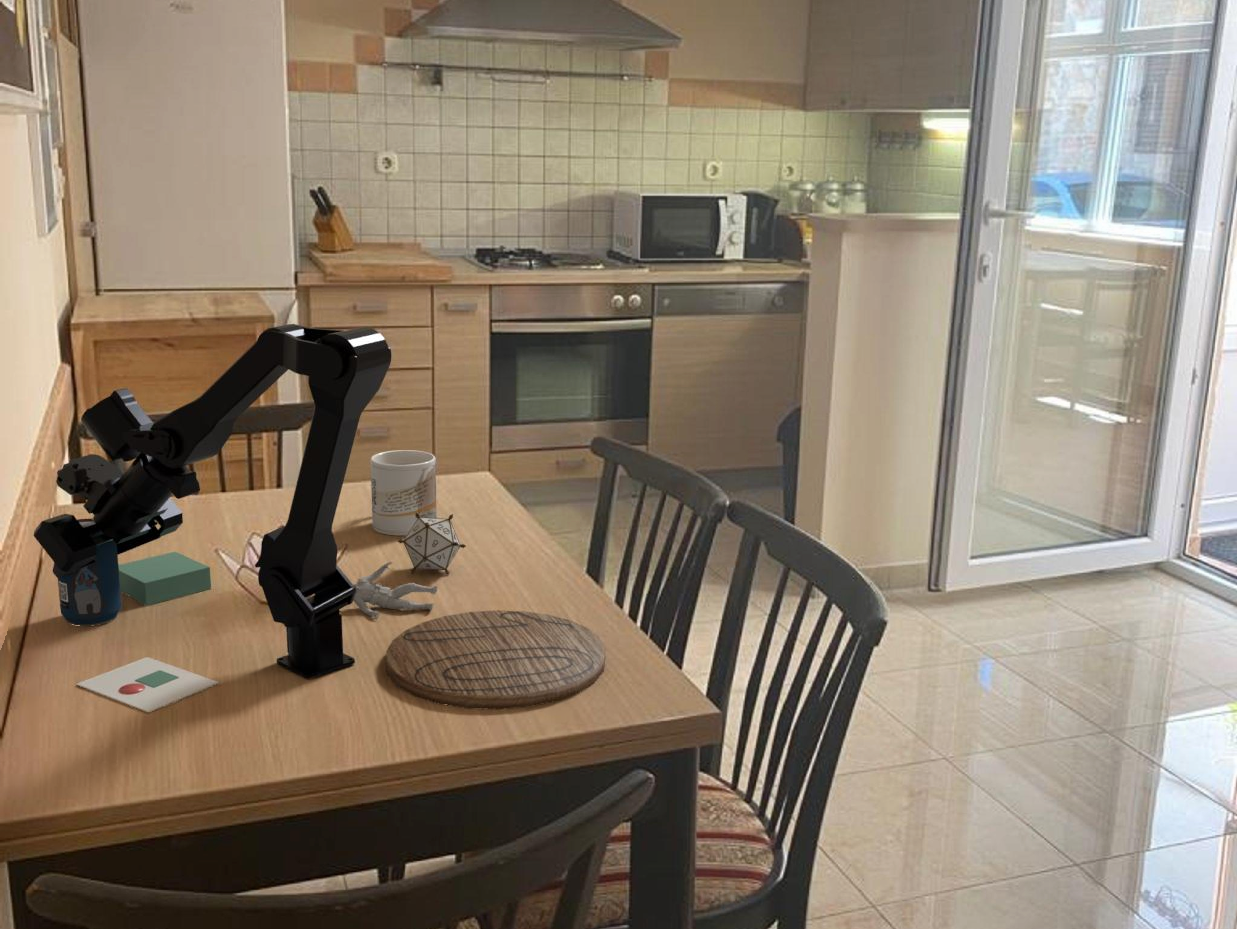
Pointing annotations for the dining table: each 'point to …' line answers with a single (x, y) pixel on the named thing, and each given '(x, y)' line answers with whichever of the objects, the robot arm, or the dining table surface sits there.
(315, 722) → the dining table surface
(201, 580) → the base brick
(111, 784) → the dining table surface
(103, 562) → the soda can
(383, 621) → the dining table surface
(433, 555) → the game die
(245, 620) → the dining table surface
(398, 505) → the mug
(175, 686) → the page
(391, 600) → the soldier figure
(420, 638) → the trivet
